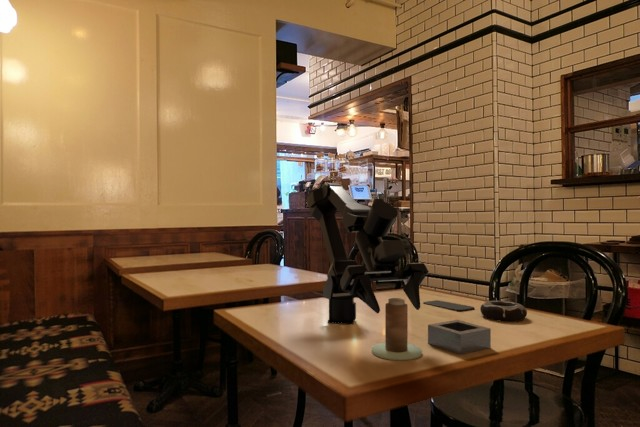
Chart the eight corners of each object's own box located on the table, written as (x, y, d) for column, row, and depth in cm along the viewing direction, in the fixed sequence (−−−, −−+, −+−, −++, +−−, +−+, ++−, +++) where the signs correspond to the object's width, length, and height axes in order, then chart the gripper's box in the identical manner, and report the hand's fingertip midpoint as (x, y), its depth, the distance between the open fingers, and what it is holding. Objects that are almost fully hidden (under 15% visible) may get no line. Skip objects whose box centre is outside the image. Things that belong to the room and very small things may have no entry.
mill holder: (460, 354, 86) (460, 334, 86) (427, 343, 94) (427, 324, 94) (490, 347, 91) (490, 328, 91) (457, 337, 98) (457, 319, 98)
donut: (472, 317, 119) (472, 303, 119) (492, 311, 126) (492, 297, 127) (515, 325, 110) (514, 310, 110) (534, 318, 118) (534, 303, 118)
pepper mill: (381, 349, 87) (381, 299, 87) (391, 344, 91) (391, 296, 91) (401, 353, 84) (401, 302, 85) (411, 348, 88) (411, 299, 88)
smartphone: (437, 299, 142) (476, 307, 129) (437, 302, 141) (476, 310, 129) (421, 302, 137) (459, 309, 125) (421, 305, 137) (459, 313, 125)
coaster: (370, 358, 83) (370, 355, 83) (372, 343, 93) (372, 341, 93) (423, 361, 82) (423, 358, 82) (420, 346, 92) (420, 343, 92)
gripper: (345, 226, 89) (370, 289, 78) (423, 226, 95) (456, 283, 85) (331, 261, 96) (352, 322, 85) (404, 258, 102) (432, 315, 92)
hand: (399, 310), depth 87 cm, fingers open, 9 cm apart
